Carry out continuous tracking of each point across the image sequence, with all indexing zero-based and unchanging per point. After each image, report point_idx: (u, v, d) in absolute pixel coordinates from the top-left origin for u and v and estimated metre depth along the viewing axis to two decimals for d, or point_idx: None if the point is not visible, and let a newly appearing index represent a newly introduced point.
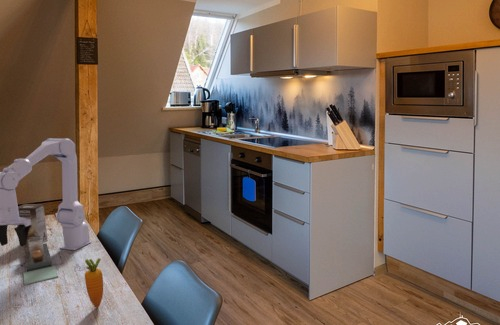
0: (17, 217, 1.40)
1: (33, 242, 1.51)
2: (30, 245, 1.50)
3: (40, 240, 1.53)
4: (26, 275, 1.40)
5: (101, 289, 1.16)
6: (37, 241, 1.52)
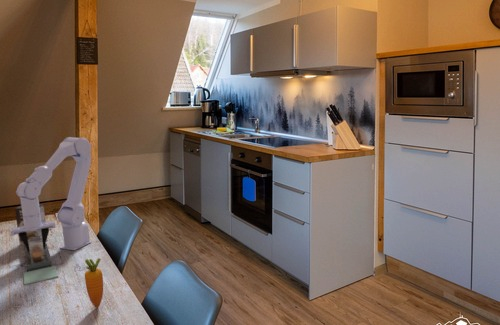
0: None
1: (33, 242, 1.51)
2: (30, 245, 1.50)
3: (40, 240, 1.53)
4: (26, 275, 1.40)
5: (101, 289, 1.16)
6: (37, 241, 1.52)
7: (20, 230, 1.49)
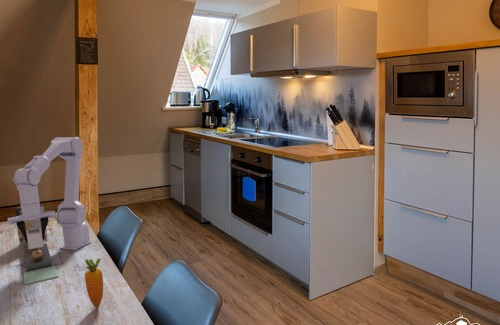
0: (40, 211, 1.44)
1: (32, 233, 1.42)
2: (28, 236, 1.41)
3: (39, 231, 1.44)
4: (26, 275, 1.40)
5: (101, 289, 1.16)
6: (36, 232, 1.43)
7: (18, 219, 1.39)
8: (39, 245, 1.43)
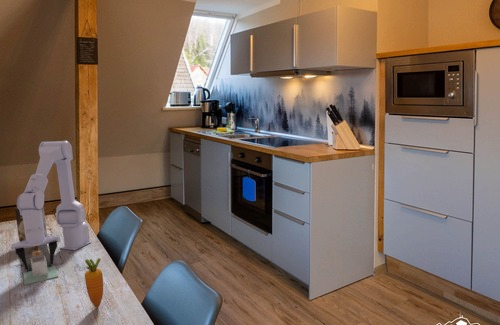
0: (44, 236, 1.40)
1: (36, 262, 1.38)
2: (32, 265, 1.36)
3: (44, 259, 1.40)
4: (26, 275, 1.40)
5: (101, 289, 1.16)
6: (40, 261, 1.39)
7: (21, 245, 1.35)
8: (44, 274, 1.39)
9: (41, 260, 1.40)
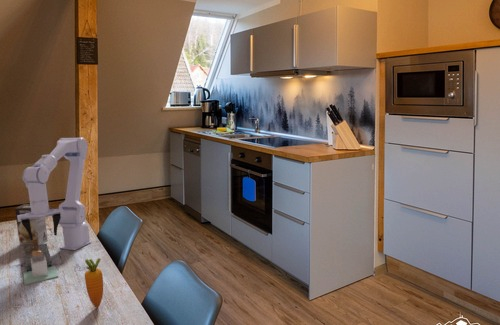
0: None
1: (36, 262, 1.38)
2: (32, 265, 1.36)
3: (44, 259, 1.40)
4: (26, 275, 1.40)
5: (101, 289, 1.16)
6: (40, 261, 1.39)
7: (27, 216, 1.43)
8: (44, 274, 1.39)
9: (41, 260, 1.40)
